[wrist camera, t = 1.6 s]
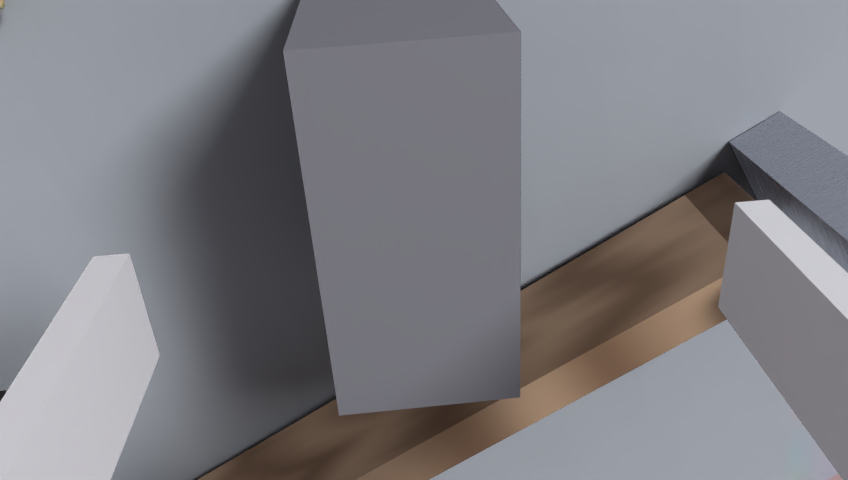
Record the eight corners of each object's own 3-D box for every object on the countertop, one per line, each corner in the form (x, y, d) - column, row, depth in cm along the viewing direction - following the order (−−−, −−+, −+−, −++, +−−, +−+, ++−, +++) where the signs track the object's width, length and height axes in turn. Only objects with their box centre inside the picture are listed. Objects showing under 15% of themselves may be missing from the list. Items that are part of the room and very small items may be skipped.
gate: (195, 531, 34) (159, 686, 28) (154, 500, 33) (108, 653, 27) (748, 219, 28) (856, 327, 22) (722, 167, 27) (829, 265, 21)
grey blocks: (150, 547, 35) (98, 727, 28) (103, 512, 34) (36, 691, 27) (807, 173, 28) (957, 287, 21) (780, 111, 27) (930, 210, 20)
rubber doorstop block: (344, 252, 28) (339, 415, 20) (308, -23, 23) (282, 51, 15) (475, 240, 28) (520, 397, 21) (466, -36, 24) (520, 31, 16)
